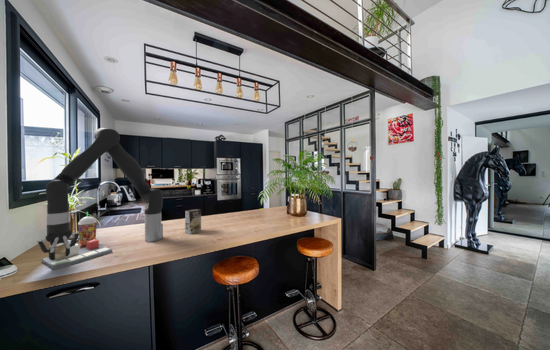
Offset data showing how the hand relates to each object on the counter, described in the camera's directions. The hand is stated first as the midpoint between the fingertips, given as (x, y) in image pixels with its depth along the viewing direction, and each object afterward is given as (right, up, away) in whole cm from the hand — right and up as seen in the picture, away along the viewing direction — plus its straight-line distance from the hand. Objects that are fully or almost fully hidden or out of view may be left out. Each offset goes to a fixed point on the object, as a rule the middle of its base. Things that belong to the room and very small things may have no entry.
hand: (59, 257), depth 93 cm
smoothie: (-12, -3, +26) cm, 29 cm away
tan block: (0, 0, 0) cm, 0 cm away
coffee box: (+42, -3, +51) cm, 66 cm away
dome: (-6, 0, +8) cm, 10 cm away
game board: (-1, -4, +10) cm, 10 cm away
